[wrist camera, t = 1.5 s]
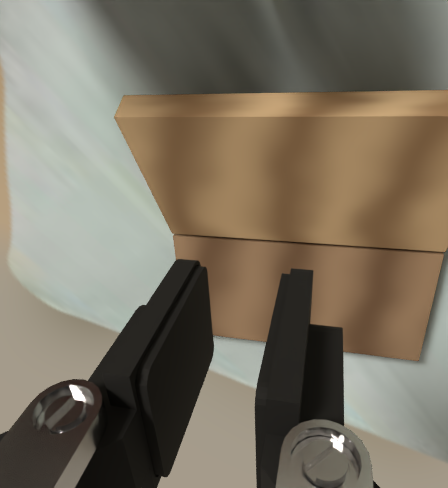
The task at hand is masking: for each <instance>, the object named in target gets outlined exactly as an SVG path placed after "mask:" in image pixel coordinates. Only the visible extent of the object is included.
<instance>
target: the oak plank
mask: <svg viewBox="0 0 448 488" xmlns="http://www.w3.org/2000/svg"><path fill="white" fill-rule="evenodd" d="M114 118H115V120H116V122H117V124H118V126H119V128H120V130H121V132H122V134H123V136H124V138H125V140H126V142H127V144H128V146H129V148H130V150H131V152H132V154H133V156H134V158H135V160H136V162H137V164H138V166H139V168H140V170H141V172H142V174H143V176H144V178H145V180H146V182H147V184H148V186H149V188H150V190H151V192H152V194H153V196H154V198H155V200H156V202H157V204H158V206H159V208H160V210H161V212H162V214H163V216H164V218H165V220H166V222H167V224H168V226H169V228H170V230H171V232H172V234H187V235H202V236H217V237H231V238H246V239H261V240H275V241H290V242H305V243H320V244H334V245H349V246H364V247H379V248H393V249H408V250H423V251H437V252H445V251H446V250H447V248H448V90H421V91H360V92H299V93H238V94H178V95H124V96H123V98H122V100H121V102H120V105H119V107H118V109H117V111H116V114H115V116H114Z"/></svg>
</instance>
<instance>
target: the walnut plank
mask: <svg viewBox="0 0 448 488" xmlns="http://www.w3.org/2000/svg"><path fill="white" fill-rule="evenodd" d="M173 239H174V247H175V255H176V260H177V259H186V260H198V261H199V262H200V264H201V266H203V267H206V268H207V272H208V284H209V295H210V307H211V319H212V330H213V335H216V336H224V337H232V338H240V339H248V340H256V341H264V342H267V337H268V333H269V328H270V324H271V319H272V315H273V310H274V306H275V301H276V297H277V292H278V288H279V283H280V279H281V274H282V273H284V274H290V270H291V268H294V269H306V270H313V288H312V304H311V320H310V324H316V325H324V326H333V327H342V328H343V352H351V353H359V354H366V355H374V356H382V357H390V358H398V359H406V360H414V361H419V358H420V353H421V349H422V345H423V341H424V337H425V332H426V328H427V324H428V320H429V316H430V311H431V307H432V303H433V299H434V295H435V290H436V286H437V282H438V278H439V273H440V269H441V265H442V261H443V257H444V254H443V252H437V251H423V250H408V249H393V248H379V247H364V246H349V245H334V244H320V243H305V242H290V241H275V240H261V239H246V238H231V237H217V236H202V235H187V234H174V235H173Z"/></svg>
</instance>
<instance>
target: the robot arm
mask: <svg viewBox="0 0 448 488" xmlns="http://www.w3.org/2000/svg"><path fill="white" fill-rule="evenodd" d="M312 288H313V270H306V269H294V268H291V270H290V274H284V273H282V274H281V279H280V283H279V288H278V292H277V297H276V301H275V306H274V310H273V315H272V319H271V324H270V328H269V333H268V337H267V342H266V346H265V351H264V355H263V360H262V364H261V369H260V373H259V378H258V383H257V389H256V397H255V434H256V475H257V488H380V487H379V486H378V485H377V484H376V483H375V482H374V481H373V476H372V464H371V460H370V456H369V452H368V451H367V449H366V447H365V446H364V444H363V442H362V441H361V440H360V439H359V438H358V437H357V436H356V435H355V434H354V433H353V432H352V431H351V430H349V429H347V428H346V427H344V381H343V328H342V327H333V326H324V325H316V324H310V320H311V304H312ZM213 351H214V342H213V330H212V319H211V307H210V295H209V284H208V272H207V268H206V267H203V266H201V264H200V262H199V261H198V260H186V259H177V260H176V261H175V262H174V264H173V265H172V267H171V268H170V270H169V271H168V273H167V274H166V276H165V277H164V279H163V280H162V282H161V283H160V285H159V286H158V288H157V289H156V291H155V292H154V294H153V295H152V297H151V299H150V300H149V302H148V303H147V305H142V306H139V308H138V309H137V310H136V311H135V313H134V314H133V315H132V317H131V318H130V320H129V321H128V323H127V324H126V326H125V327H124V329H123V330H122V332H121V333H120V334H119V336H118V337H117V339H116V341H115V342H114V343H113V345H112V346H111V348H110V349H109V351H108V352H107V354H106V355H105V357H104V358H103V359H102V361H101V362H100V364H99V365H98V367H97V368H96V370H95V371H94V373H93V374H92V375H91V377H90V378H89V380H88V381H86V380H77V379H72V380H67V381H63V382H60V383H57V384H55V385H53V386H51V387H49V388H47V389H46V390H45V391H43V392H42V393H40V394H39V395H38V396H37V397H36V398H35V399H34V400H33V401H32V402H31V403H30V404H29V406H28V407H27V408H26V410H25V411H24V412H23V413H22V415H21V416H20V417H19V418H18V420H17V421H16V422H15V423H14V425H13V426H12V427H11V428H10V430H9V431H7V432H5V433H3V434H0V488H157V486H158V483H159V481H160V478H161V476H163V477H168V475H169V474H170V471H171V469H172V466H173V464H174V461H175V458H176V456H177V453H178V450H179V447H180V444H181V442H182V439H183V436H184V434H185V431H186V428H187V426H188V423H189V420H190V418H191V415H192V412H193V409H194V407H195V404H196V401H197V398H198V396H199V393H200V390H201V388H202V385H203V382H204V379H205V377H206V374H207V371H208V369H209V366H210V363H211V361H212V357H213Z"/></svg>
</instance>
